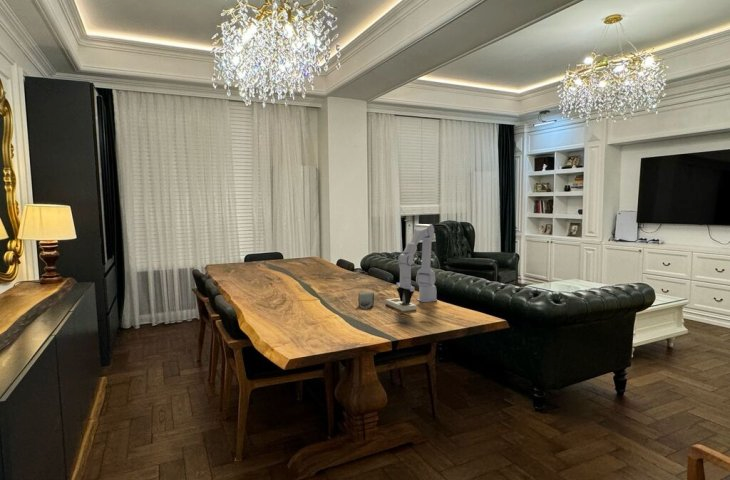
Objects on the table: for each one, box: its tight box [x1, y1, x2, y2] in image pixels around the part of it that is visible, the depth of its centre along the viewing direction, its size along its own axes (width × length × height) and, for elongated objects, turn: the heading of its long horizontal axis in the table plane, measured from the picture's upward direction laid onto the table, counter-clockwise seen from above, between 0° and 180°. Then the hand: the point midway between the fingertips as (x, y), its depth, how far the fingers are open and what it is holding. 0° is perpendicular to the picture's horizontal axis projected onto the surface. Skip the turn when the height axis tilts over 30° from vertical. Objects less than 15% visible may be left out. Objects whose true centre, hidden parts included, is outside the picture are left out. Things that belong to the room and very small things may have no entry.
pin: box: [402, 292, 409, 306], centre depth 222 cm, size 4×4×8 cm
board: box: [385, 297, 417, 314], centre depth 226 cm, size 8×18×3 cm, turn 27°
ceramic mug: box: [357, 291, 375, 310], centre depth 228 cm, size 11×8×8 cm
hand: (405, 302), depth 222 cm, fingers open, 4 cm apart
